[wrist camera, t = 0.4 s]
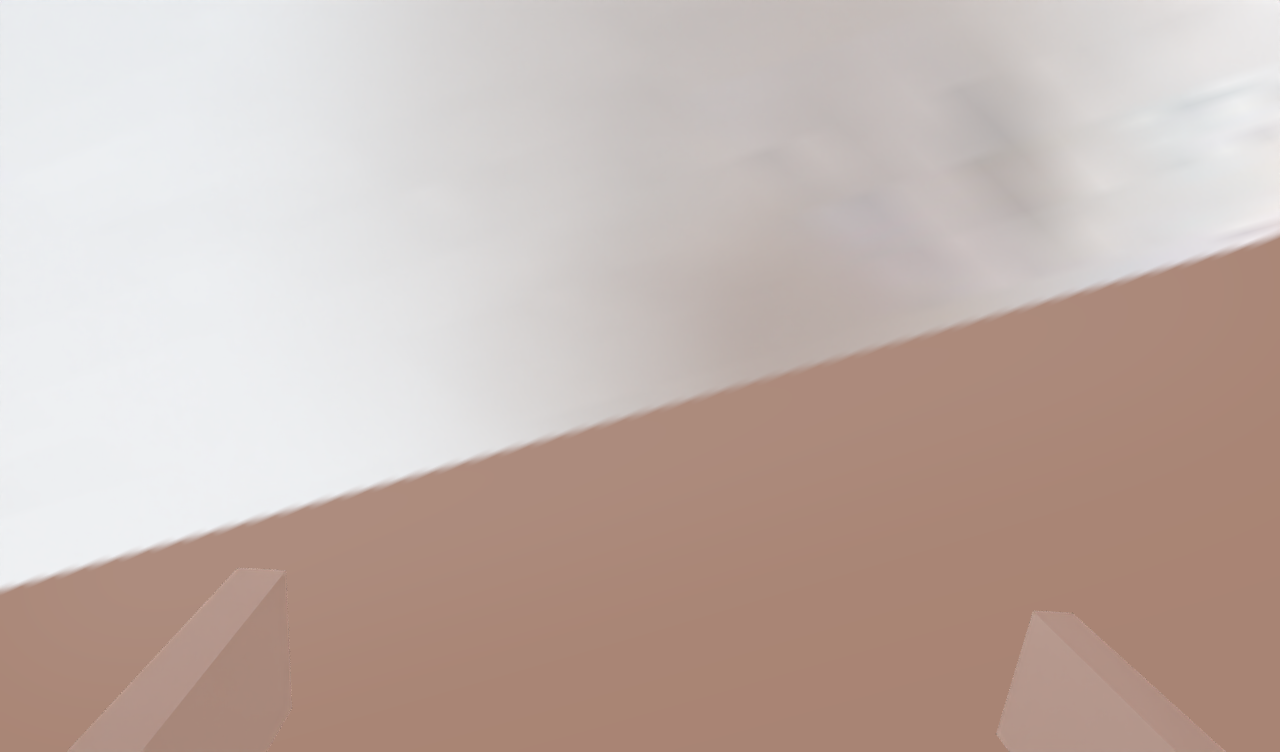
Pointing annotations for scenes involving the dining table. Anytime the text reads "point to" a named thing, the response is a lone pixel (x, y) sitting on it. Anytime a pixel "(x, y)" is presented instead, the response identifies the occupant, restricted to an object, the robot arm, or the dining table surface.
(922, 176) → the dining table surface
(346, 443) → the dining table surface
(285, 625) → the robot arm
